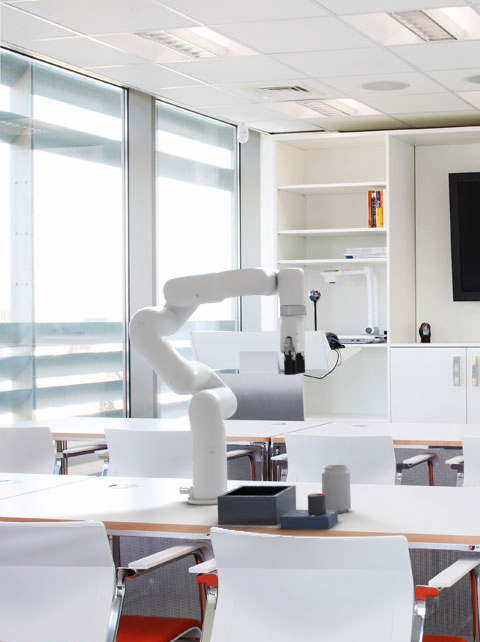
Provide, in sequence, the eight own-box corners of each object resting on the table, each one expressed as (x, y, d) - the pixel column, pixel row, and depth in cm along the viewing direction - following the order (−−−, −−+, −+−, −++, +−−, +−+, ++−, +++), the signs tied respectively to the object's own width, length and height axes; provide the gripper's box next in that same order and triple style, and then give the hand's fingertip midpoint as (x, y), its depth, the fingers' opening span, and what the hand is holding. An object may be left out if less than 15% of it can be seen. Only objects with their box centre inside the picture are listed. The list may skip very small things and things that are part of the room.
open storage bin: (217, 524, 247) (217, 496, 247) (241, 511, 264) (240, 485, 264) (276, 524, 245) (275, 496, 245) (296, 511, 262) (295, 485, 262)
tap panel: (280, 529, 240) (279, 515, 240) (291, 521, 249) (290, 509, 249) (329, 529, 239) (329, 516, 239) (339, 521, 248) (338, 509, 247)
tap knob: (305, 514, 242) (305, 495, 241) (310, 511, 246) (310, 492, 246) (323, 514, 241) (323, 495, 241) (328, 511, 245) (327, 492, 245)
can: (355, 509, 265) (354, 464, 264) (343, 514, 258) (342, 468, 257) (330, 507, 267) (329, 463, 267) (317, 512, 260) (316, 467, 260)
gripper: (287, 313, 285) (290, 373, 285) (270, 312, 267) (273, 376, 268) (313, 312, 284) (315, 372, 284) (297, 311, 267) (300, 375, 267)
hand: (295, 373), depth 276 cm, fingers open, 9 cm apart
